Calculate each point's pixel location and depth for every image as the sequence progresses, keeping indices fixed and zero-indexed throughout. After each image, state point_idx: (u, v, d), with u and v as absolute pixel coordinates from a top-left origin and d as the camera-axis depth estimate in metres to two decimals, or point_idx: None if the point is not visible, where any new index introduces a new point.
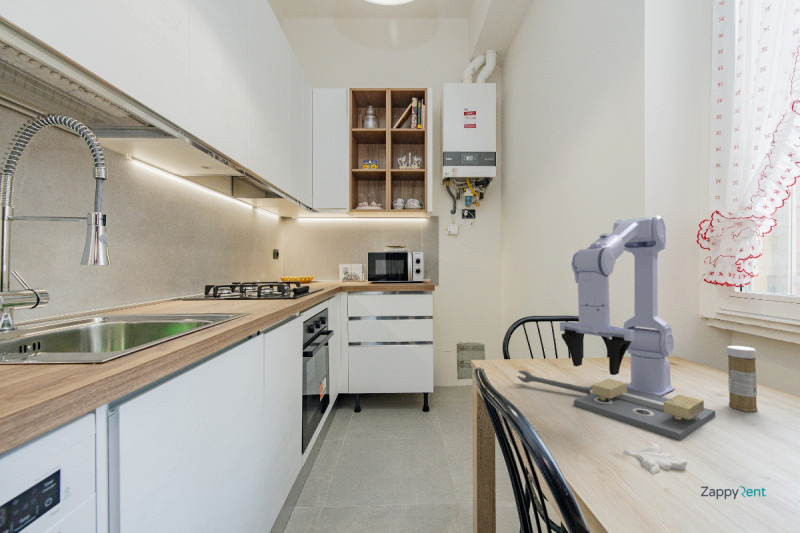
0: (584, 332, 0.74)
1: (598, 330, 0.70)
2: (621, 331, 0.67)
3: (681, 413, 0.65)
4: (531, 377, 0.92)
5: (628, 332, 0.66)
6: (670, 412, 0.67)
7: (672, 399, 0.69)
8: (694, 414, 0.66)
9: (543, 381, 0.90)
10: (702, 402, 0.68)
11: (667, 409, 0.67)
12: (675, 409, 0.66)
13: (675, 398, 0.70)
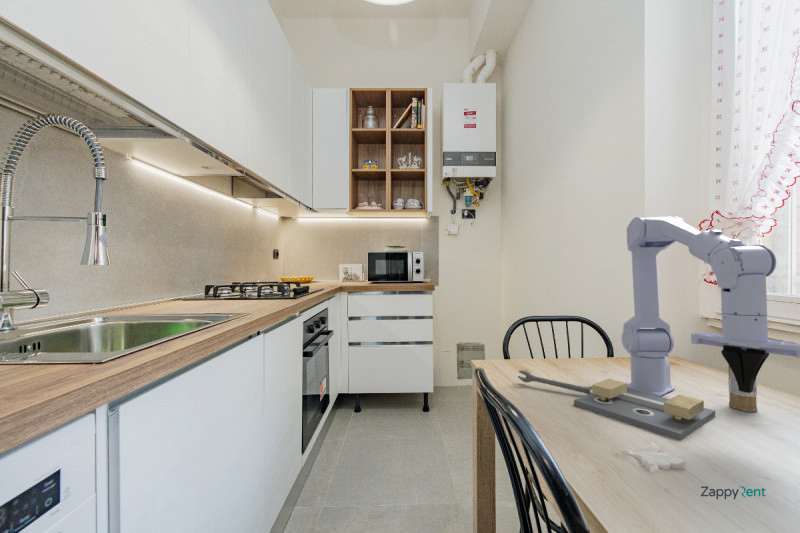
0: (729, 346, 0.62)
1: (757, 344, 0.58)
2: (793, 346, 0.55)
3: (681, 413, 0.65)
4: (531, 377, 0.92)
5: None
6: (670, 412, 0.67)
7: (672, 399, 0.69)
8: (694, 414, 0.66)
9: (543, 381, 0.90)
10: (702, 402, 0.68)
11: (667, 409, 0.67)
12: (675, 409, 0.66)
13: (675, 398, 0.70)
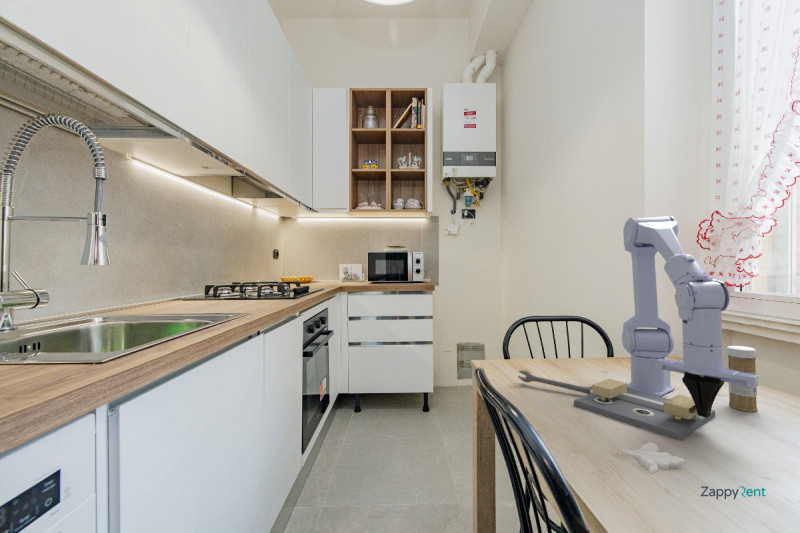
0: (689, 373, 0.67)
1: (713, 374, 0.63)
2: (743, 377, 0.60)
3: (681, 413, 0.65)
4: (531, 377, 0.92)
5: (753, 378, 0.59)
6: (670, 412, 0.67)
7: (672, 399, 0.69)
8: (694, 414, 0.66)
9: (543, 381, 0.90)
10: None
11: (667, 409, 0.67)
12: (674, 409, 0.66)
13: (675, 398, 0.70)
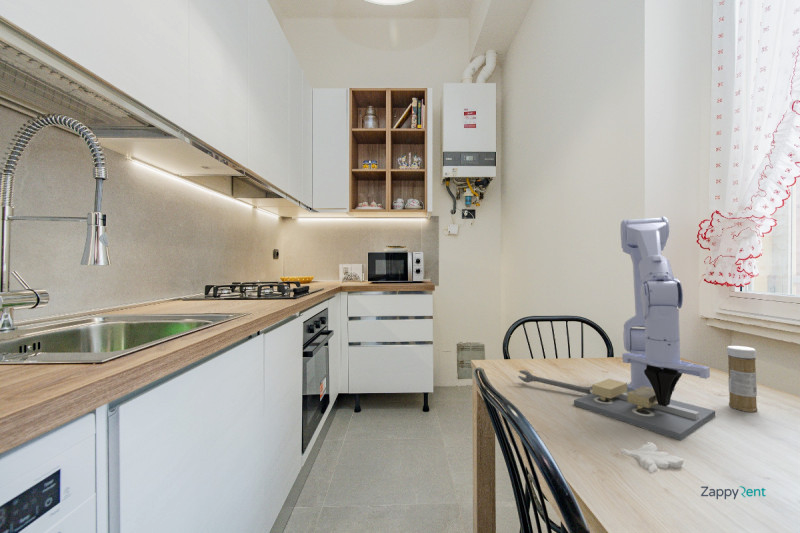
0: (651, 365, 0.73)
1: (670, 366, 0.68)
2: (696, 368, 0.66)
3: (642, 402, 0.71)
4: (532, 377, 0.92)
5: (704, 369, 0.65)
6: (633, 401, 0.72)
7: (636, 390, 0.75)
8: (654, 403, 0.71)
9: (544, 381, 0.90)
10: None
11: (630, 399, 0.73)
12: (637, 398, 0.72)
13: (639, 389, 0.75)
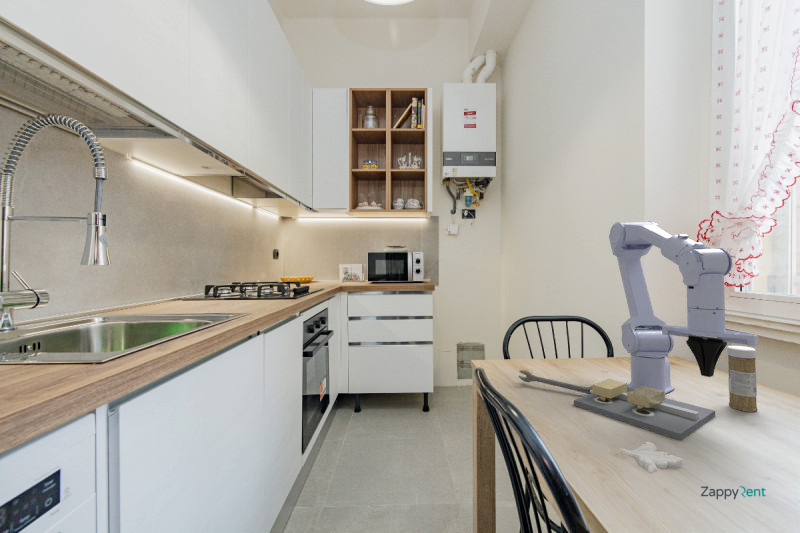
0: (693, 336, 0.71)
1: (715, 334, 0.66)
2: (744, 336, 0.64)
3: (642, 402, 0.71)
4: (532, 377, 0.92)
5: (753, 337, 0.63)
6: (633, 401, 0.72)
7: (636, 390, 0.75)
8: (654, 403, 0.71)
9: (544, 381, 0.90)
10: (663, 392, 0.74)
11: (630, 399, 0.73)
12: (637, 398, 0.72)
13: (639, 389, 0.75)
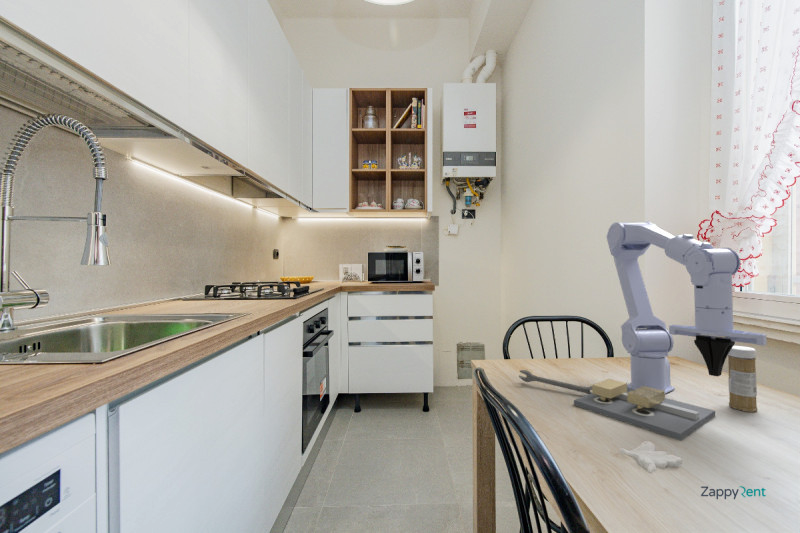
0: (701, 336, 0.71)
1: (724, 334, 0.67)
2: (753, 335, 0.64)
3: (642, 402, 0.71)
4: (532, 377, 0.92)
5: (762, 336, 0.63)
6: (633, 401, 0.72)
7: (636, 390, 0.75)
8: (654, 403, 0.71)
9: (544, 381, 0.90)
10: (663, 392, 0.74)
11: (630, 399, 0.73)
12: (637, 398, 0.72)
13: (639, 389, 0.75)
